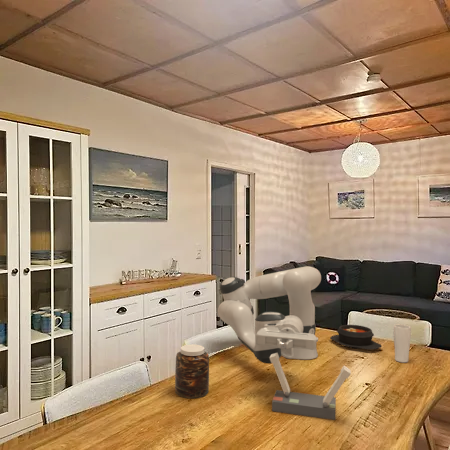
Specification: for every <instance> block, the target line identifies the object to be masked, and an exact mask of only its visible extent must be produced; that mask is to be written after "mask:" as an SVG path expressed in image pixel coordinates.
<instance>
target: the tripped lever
mask: <svg viewBox="0 0 450 450" xmlns="http://www.w3.org/2000/svg"><path fill="white" fill-rule="evenodd" d="M270 361H271V364H272V366H273V368H274V370H275V373H276V375H277V378H278V381H279V383H280V386H281V390H282V391H283V392H284V394H285V396H286V397H288V396H289V393H290V392H291V388H290V385H289V382H288V380H287V377H286V374H285V372H284V369H283V367H282V364H281V362H280V358H279V356H278V353H274V354H271V356H270Z"/></svg>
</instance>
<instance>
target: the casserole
mask: <svg viewBox="0 0 450 450" xmlns="http://www.w3.org/2000/svg"><path fill="white" fill-rule="evenodd" d="M336 332H337V334H336V335H334V334H333V335H332V336H330V340H332V341H334V342H335V343H337V344H339V345H341V346H344V347H346V348H349V349H356V350H361V349H362V350H366V351H367V350H369V351H371V350H377V349H380V348H382V344H380V343H378V342H375V341H374V340H373V337H374V336H375V335H374V333H373V330H372V329H371V328H370V327H368V326H364V325H359V324H358V325H356V324H344V325H340V326H339V327H338V329H337V331H336Z"/></svg>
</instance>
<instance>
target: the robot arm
mask: <svg viewBox="0 0 450 450" xmlns="http://www.w3.org/2000/svg"><path fill="white" fill-rule="evenodd" d="M321 281H322V275H321V272H320V270H318V269H317V268H315V267H313V266H306V265H305V266H301V267H296V268H292V269H291V268H290V269H286V270H282V271H276V272H271V273H266V274H263V275H258V276H255V277H251V278H250V279H247V280H245V279H244V278H239V277H236V276H232V277H228V278H226V279H224V280H223V281H222V282H221V283H220V284H219V291H220V293H221V295H222V299H223V301H222V302H221V303H220V304H219V305H218V307H217V316H218V317H219V318H220V320H222V322H223V323H225V324H226V325H228V326H229V327H231V329H232V330H233V331H234V333H235V335H236V336H237V338H238V339H239V341H240V342H241V343H242V344H243V345H244V346H245V347H246V348H247V349H248V350H250V351H251V352H252V353H253V355H254V357H255V358H256V359H257V360H258V361H259V362H261V363H263V364H269V365H270V364H272V363H271V361H270V356H271V354H274V353H278V356H279V359H280V358H281V357H284V358H285V359H290V360H292V359H295V360H296V359H297V360H312V359H316V358H318V356H319V355H318V351H317V350H318V349H317V342H319V337H318V336H316V328H317V327H316V326H317V325H316V323H315V319H316V316H315V315H316V307H315V303H314V302H313V299H312V298H313V297H312V292H311V291H312V290H314V289H316V288H317V287H318V286H319V285H320V284H321ZM283 296H287V297H288V303H289V315H284V314H283V313H282V312H280V311H279V312H278V311H263V312H261V313H260V314H258V315H257V316H256V318H255V319H254V313H255V311H254V306H253V305H252V302H251V299H252V300H264V299H270V298H271V299H272V298H278V297H283Z"/></svg>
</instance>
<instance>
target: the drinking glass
mask: <svg viewBox="0 0 450 450" xmlns="http://www.w3.org/2000/svg"><path fill="white" fill-rule="evenodd" d="M411 337H412V329H411V326H410V325H407V324H398V323H397V324H393V345H394V360H395V361H396V362H398V363H403V364H404V363H409V354H410V346H411Z"/></svg>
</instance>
